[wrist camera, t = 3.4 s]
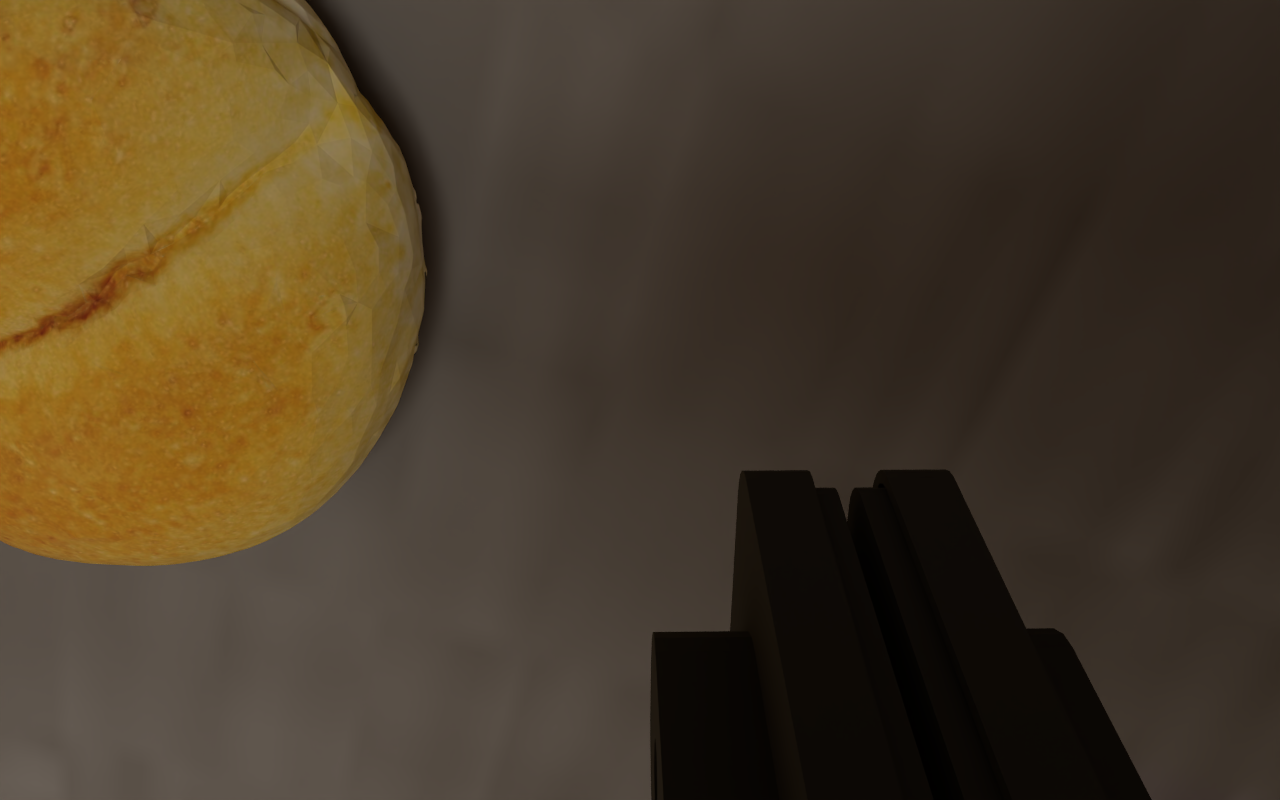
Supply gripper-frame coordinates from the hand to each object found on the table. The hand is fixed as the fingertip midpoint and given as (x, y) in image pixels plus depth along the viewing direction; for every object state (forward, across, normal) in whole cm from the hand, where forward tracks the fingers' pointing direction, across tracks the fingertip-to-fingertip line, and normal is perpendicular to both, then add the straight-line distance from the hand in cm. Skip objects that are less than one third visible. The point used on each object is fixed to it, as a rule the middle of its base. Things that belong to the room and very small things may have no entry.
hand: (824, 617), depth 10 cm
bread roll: (+8, +9, -1) cm, 12 cm away
